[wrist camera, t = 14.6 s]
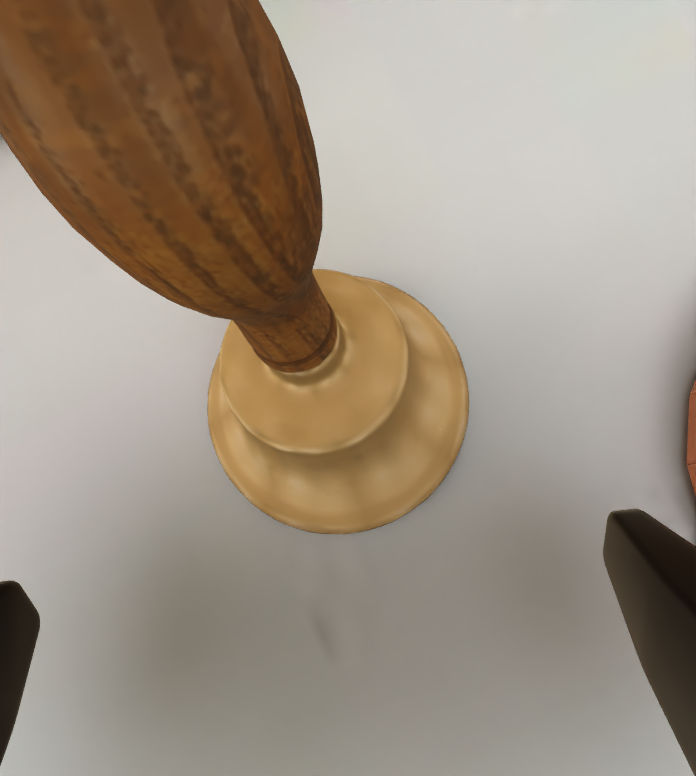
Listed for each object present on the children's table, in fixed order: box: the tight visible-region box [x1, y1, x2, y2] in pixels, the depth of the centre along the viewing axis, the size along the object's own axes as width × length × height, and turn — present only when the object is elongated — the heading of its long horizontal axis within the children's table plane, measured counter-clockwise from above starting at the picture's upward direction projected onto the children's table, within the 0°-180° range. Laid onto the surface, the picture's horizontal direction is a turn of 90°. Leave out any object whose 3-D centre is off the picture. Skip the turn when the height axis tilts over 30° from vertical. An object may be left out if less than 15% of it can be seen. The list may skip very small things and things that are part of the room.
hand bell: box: [0, 0, 469, 534], centre depth 10 cm, size 8×8×16 cm
